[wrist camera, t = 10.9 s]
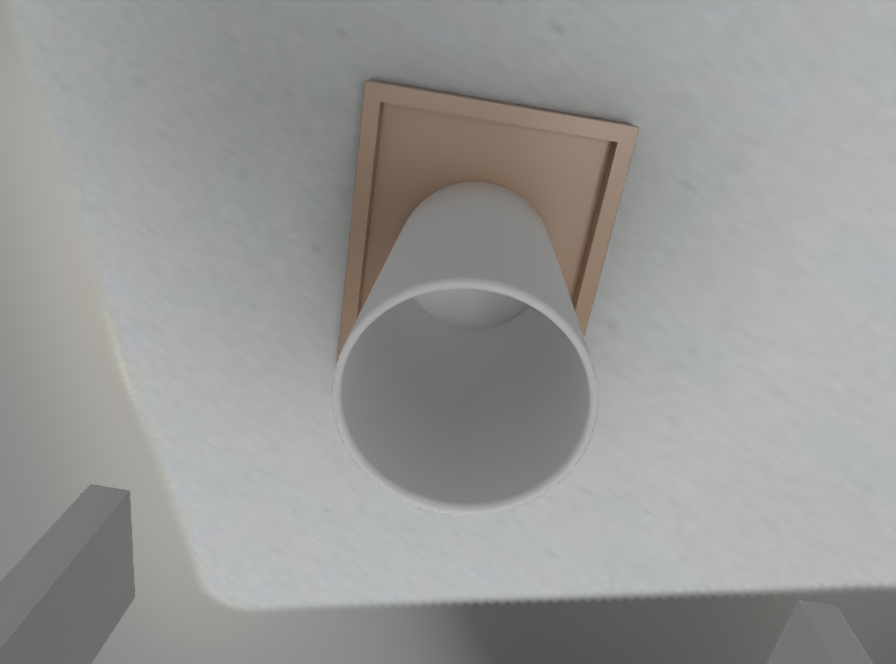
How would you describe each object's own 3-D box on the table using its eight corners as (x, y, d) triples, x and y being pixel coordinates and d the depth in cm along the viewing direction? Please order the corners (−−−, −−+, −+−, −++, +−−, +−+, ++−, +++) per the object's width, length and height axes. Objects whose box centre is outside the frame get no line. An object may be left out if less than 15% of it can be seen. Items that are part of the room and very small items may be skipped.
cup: (367, 271, 35) (280, 424, 20) (460, 147, 32) (436, 222, 18) (486, 357, 37) (484, 557, 22) (584, 246, 34) (657, 390, 19)
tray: (372, 79, 32) (365, 80, 30) (630, 123, 32) (639, 127, 30) (342, 365, 38) (335, 381, 37) (558, 401, 39) (562, 418, 37)
